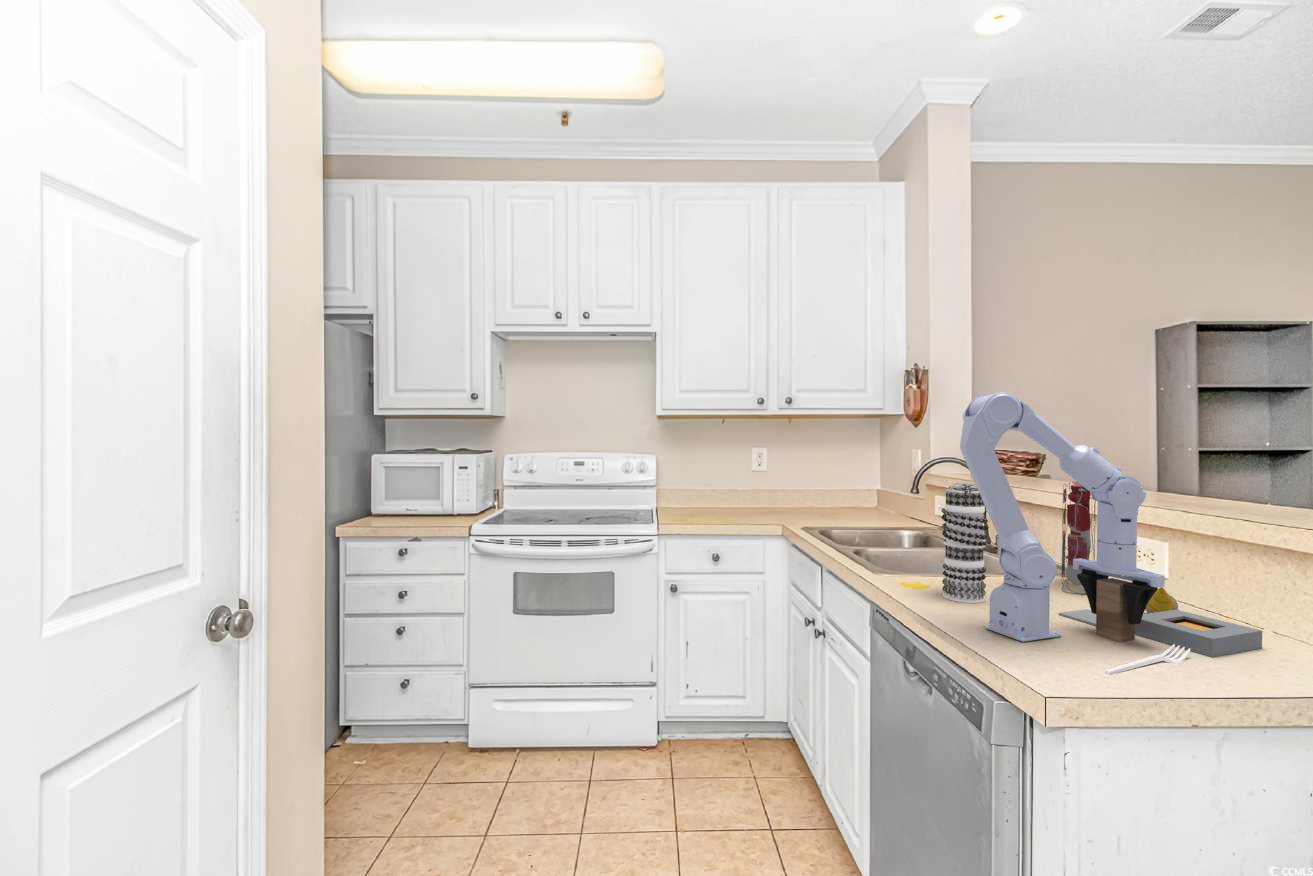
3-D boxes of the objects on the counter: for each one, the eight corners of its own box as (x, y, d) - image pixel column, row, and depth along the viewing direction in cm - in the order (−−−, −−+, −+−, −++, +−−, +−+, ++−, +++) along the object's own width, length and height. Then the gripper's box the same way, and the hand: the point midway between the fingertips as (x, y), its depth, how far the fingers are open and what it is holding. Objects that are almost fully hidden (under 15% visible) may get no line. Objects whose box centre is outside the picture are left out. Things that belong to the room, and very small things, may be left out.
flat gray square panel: (1098, 627, 116) (1098, 624, 116) (1058, 614, 124) (1058, 612, 124) (1128, 622, 119) (1128, 620, 119) (1087, 611, 126) (1087, 609, 126)
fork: (1095, 673, 95) (1095, 660, 95) (1170, 654, 103) (1170, 643, 103) (1118, 680, 92) (1118, 668, 92) (1194, 660, 100) (1194, 649, 100)
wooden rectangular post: (1118, 642, 108) (1119, 585, 108) (1096, 635, 112) (1096, 579, 112) (1134, 639, 109) (1135, 583, 109) (1111, 632, 113) (1112, 578, 113)
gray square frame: (1212, 657, 101) (1212, 638, 101) (1128, 632, 113) (1128, 616, 113) (1262, 648, 105) (1262, 630, 105) (1176, 625, 117) (1176, 609, 117)
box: (1093, 605, 131) (1095, 490, 130) (1059, 600, 134) (1060, 488, 134) (1094, 582, 151) (1095, 482, 151) (1064, 578, 154) (1065, 480, 154)
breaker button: (1201, 639, 106) (1201, 634, 105) (1164, 629, 111) (1164, 625, 111) (1222, 636, 107) (1222, 631, 107) (1185, 626, 113) (1185, 622, 113)
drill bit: (1184, 619, 122) (1187, 593, 117) (1155, 629, 123) (1157, 603, 118) (1163, 598, 127) (1165, 571, 121) (1136, 607, 128) (1137, 581, 122)
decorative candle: (938, 590, 142) (939, 482, 142) (983, 594, 139) (984, 483, 139) (942, 601, 133) (943, 485, 133) (990, 605, 130) (991, 486, 130)
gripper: (1177, 548, 105) (1176, 628, 105) (1092, 534, 118) (1091, 605, 119) (1148, 550, 102) (1147, 632, 103) (1065, 536, 116) (1064, 608, 116)
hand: (1115, 618), depth 110 cm, fingers open, 6 cm apart
